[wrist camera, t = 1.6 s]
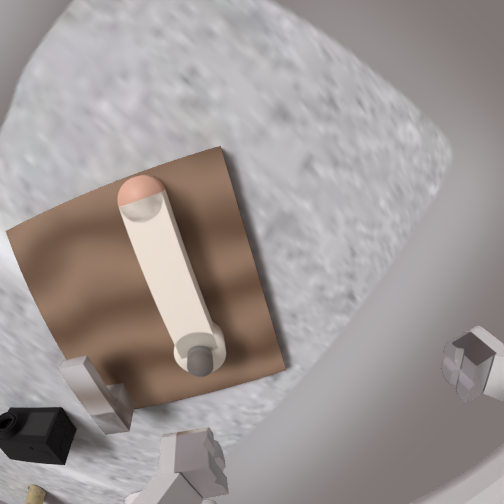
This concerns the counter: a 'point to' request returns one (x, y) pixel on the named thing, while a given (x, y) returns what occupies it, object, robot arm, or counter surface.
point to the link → (168, 268)
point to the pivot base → (146, 294)
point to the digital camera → (36, 435)
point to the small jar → (35, 495)
